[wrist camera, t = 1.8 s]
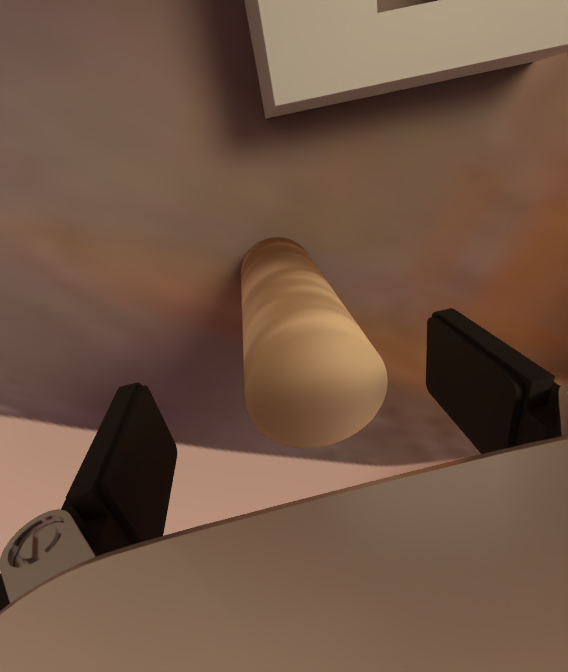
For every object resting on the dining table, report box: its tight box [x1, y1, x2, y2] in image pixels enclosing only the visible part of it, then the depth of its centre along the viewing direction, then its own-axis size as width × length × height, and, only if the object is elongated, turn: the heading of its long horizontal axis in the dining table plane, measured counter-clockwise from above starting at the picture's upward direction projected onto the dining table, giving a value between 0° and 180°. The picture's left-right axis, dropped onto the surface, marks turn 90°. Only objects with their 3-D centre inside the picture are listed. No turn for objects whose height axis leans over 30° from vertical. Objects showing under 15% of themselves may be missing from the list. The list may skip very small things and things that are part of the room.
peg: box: [241, 238, 388, 448], centre depth 16 cm, size 4×4×12 cm
